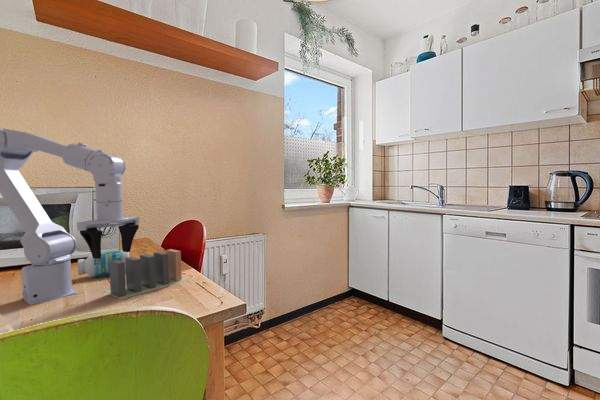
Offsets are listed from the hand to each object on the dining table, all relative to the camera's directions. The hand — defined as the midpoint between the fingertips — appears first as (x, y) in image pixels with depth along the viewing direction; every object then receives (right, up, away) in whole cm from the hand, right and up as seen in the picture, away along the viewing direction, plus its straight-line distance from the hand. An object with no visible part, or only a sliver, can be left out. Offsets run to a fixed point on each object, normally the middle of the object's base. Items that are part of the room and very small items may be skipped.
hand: (112, 254), depth 76 cm
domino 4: (+9, -9, +8) cm, 15 cm away
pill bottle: (-8, -6, +21) cm, 23 cm away
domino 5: (+11, -9, +11) cm, 18 cm away
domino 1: (+2, -10, -1) cm, 10 cm away
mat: (+6, -10, +6) cm, 13 cm away
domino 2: (+4, -10, +2) cm, 11 cm away
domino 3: (+7, -10, +5) cm, 13 cm away
